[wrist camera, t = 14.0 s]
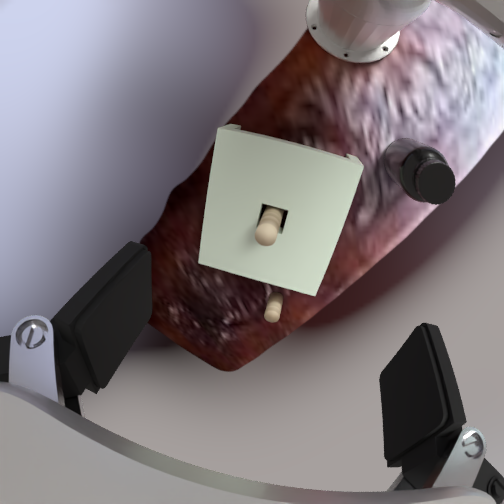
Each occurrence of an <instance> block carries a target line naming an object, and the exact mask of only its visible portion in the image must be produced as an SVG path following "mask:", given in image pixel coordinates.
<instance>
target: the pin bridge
mask: <svg viewBox="0 0 504 504" xmlns="http://www.w3.org/2000/svg"><path fill="white" fill-rule="evenodd" d="M363 168H364V166H363V164H362V163H361V162H360V160H359V159H358V158H357V157H356V156H353V155H350V154H346V157H342V156H339V155H336V154H332V153H329V152H326V151H322V150H319V149H316V148H312V147H309V146H305V145H301V144H298V143H294V142H290V141H286V140H282V139H278V138H274V137H270V136H266V135H261V134H257V133H252V132H248V131H243V130H241V126H240V125H234V124H229V125H226V126H222V127H219V128H218V130H217V136H216V141H215V147H214V153H213V159H212V166H211V172H210V179H209V185H208V192H207V199H206V206H205V213H204V221H203V228H202V236H201V244H200V253H199V261H198V263H200V264H203V265H206V266H210V267H213V268H217V269H220V270H224V271H227V272H230V273H234V274H237V275H241V276H244V277H248V278H251V279H255V280H258V281H262V282H265V283H269V284H273V285H276V286H280V287H283V288H287V289H291V290H294V291H298V292H302V293H305V294H309V295H313V296H315V295H316V293H317V291H318V288H319V286H320V283H321V281H322V279H323V276H324V274H325V271H326V269H327V266H328V264H329V261H330V259H331V256H332V254H333V251H334V249H335V246H336V244H337V241H338V238H339V236H340V233H341V231H342V228H343V225H344V222H345V220H346V217H347V214H348V211H349V209H350V206H351V203H352V200H353V197H354V194H355V192H356V189H357V186H358V183H359V180H360V177H361V174H362V171H363ZM263 204H267V205H270V206H274V207H278V208H281V209H285V210H288V214H287V218H286V221H285V225H284V228H282V227H279V231H278V235H277V238H276V241H275V243H274V244H273V245H271V246H262V245H260V244H259V243H258V242H257V241H256V239H255V232H256V230H257V227H258V225H259V223H260V221H259V219H260V215H261V210H262V206H263Z"/></svg>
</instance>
